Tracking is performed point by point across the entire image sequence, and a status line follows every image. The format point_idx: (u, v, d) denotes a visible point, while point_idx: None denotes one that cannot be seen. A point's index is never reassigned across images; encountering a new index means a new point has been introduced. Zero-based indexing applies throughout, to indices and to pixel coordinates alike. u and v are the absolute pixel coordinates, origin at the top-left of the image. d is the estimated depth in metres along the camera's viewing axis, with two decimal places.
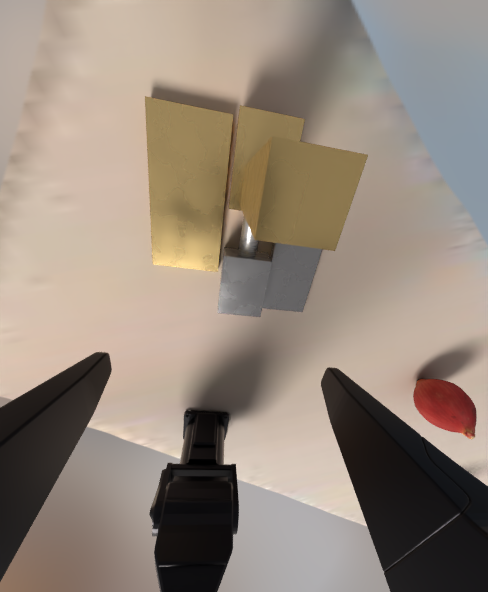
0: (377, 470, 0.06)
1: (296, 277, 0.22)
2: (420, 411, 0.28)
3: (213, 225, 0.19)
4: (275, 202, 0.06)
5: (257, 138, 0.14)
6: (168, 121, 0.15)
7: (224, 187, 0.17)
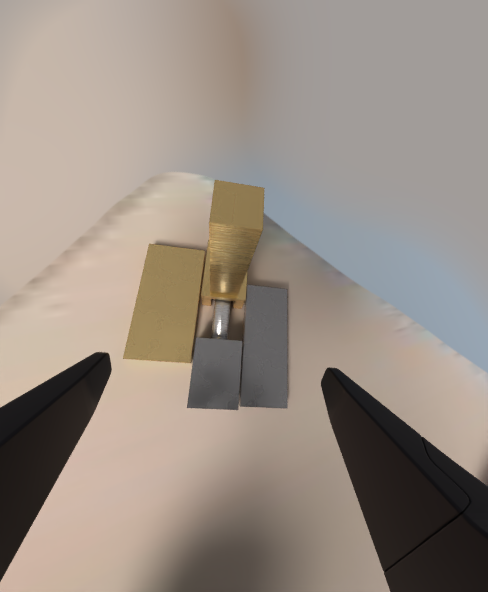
0: (377, 470, 0.06)
1: (270, 363, 0.21)
2: None
3: (188, 318, 0.22)
4: (219, 204, 0.11)
5: None
6: (161, 254, 0.23)
7: (198, 290, 0.23)
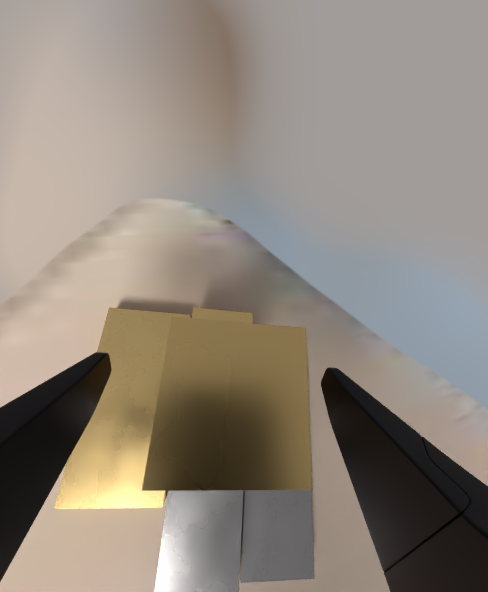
0: (377, 470, 0.06)
1: (286, 497, 0.14)
2: None
3: None
4: (181, 406, 0.04)
5: None
6: (127, 323, 0.16)
7: None
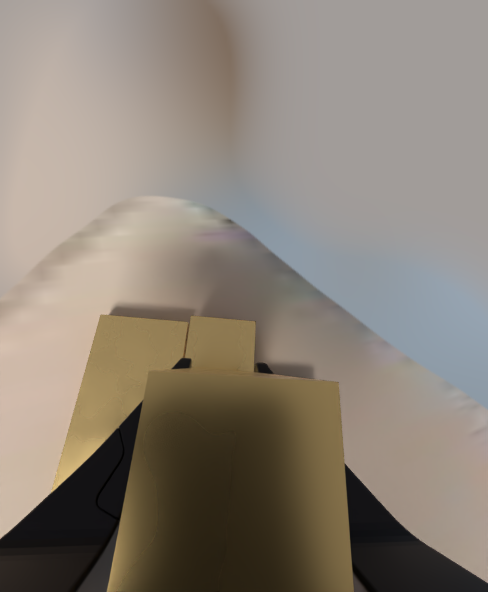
0: None
1: None
2: None
3: None
4: (159, 516, 0.02)
5: (209, 340, 0.13)
6: (119, 332, 0.15)
7: None
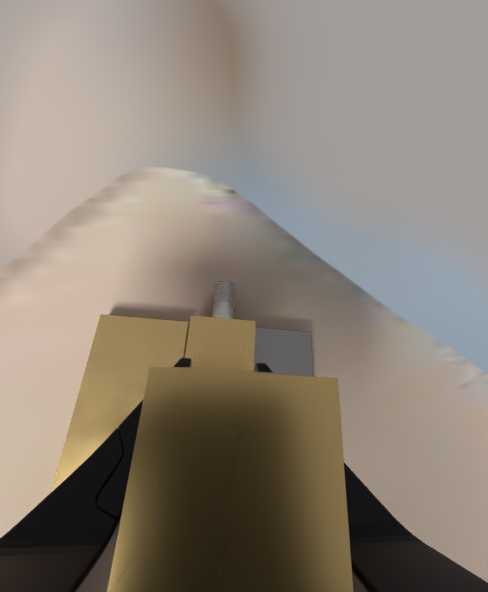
0: None
1: None
2: None
3: None
4: (160, 509, 0.02)
5: (209, 340, 0.13)
6: (120, 332, 0.15)
7: None
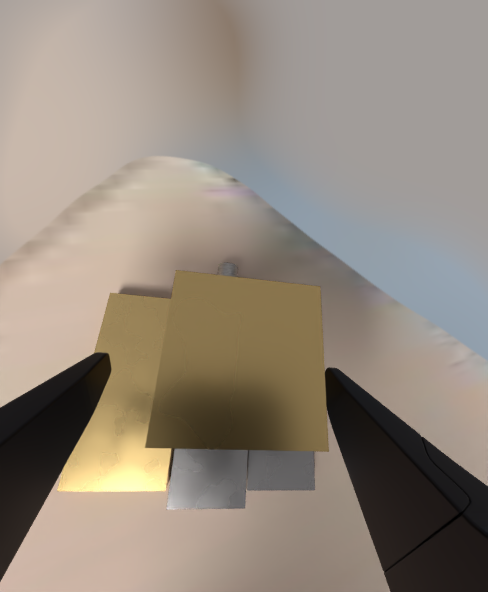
0: (377, 470, 0.06)
1: None
2: None
3: None
4: (187, 361, 0.03)
5: None
6: (128, 309, 0.16)
7: None
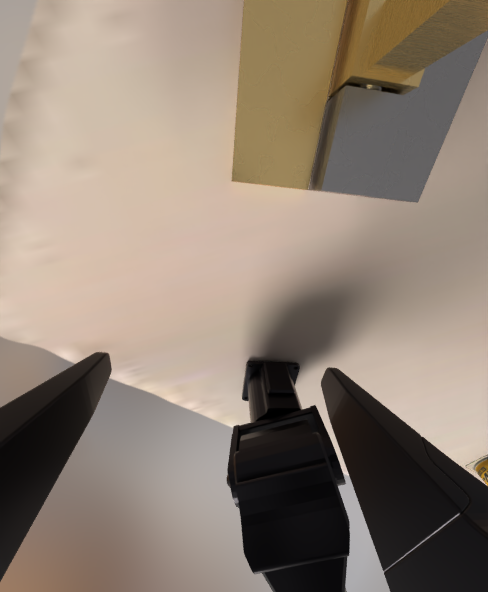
0: (377, 470, 0.06)
1: (420, 143, 0.16)
2: None
3: (311, 121, 0.15)
4: None
5: None
6: None
7: (332, 63, 0.14)
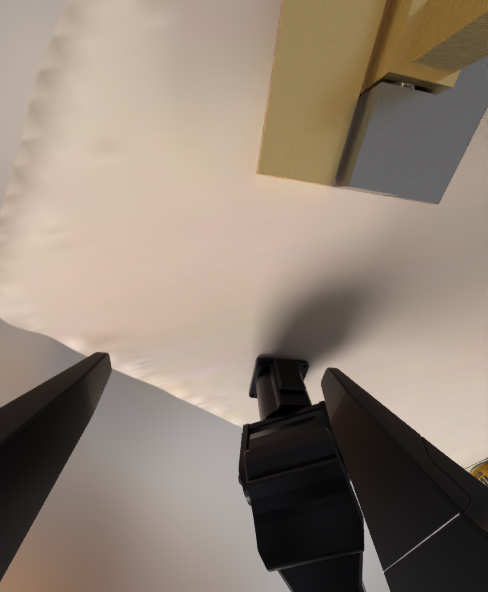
0: (377, 470, 0.06)
1: (446, 144, 0.16)
2: None
3: (342, 117, 0.15)
4: None
5: None
6: None
7: (367, 59, 0.14)
